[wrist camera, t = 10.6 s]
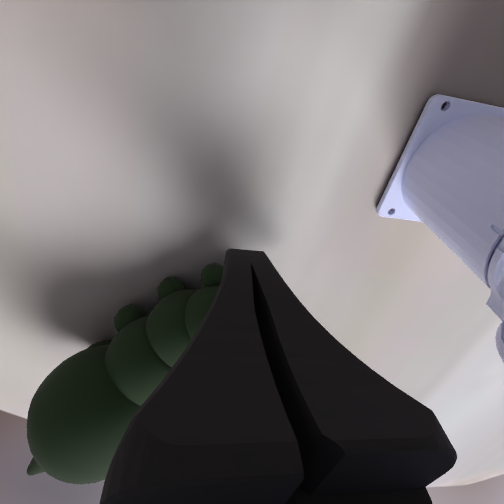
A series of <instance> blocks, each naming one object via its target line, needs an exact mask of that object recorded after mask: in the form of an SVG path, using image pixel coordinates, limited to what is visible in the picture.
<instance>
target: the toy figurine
mask: <svg viewBox="0 0 504 504" xmlns="http://www.w3.org/2000/svg"><path fill="white" fill-rule="evenodd" d="M223 268H224V267H223V266H222V265H220V264H218V263H212V264H208V265H206V267H205V268H204V269H203V270H202V273H201V280H200V281H201V282H202V284H203V285H204V286H205V287H203V288H201V289H199V290H196V289H187V290H184V286H183V284H182V283H181V282H180V280H179V279H177V278H166V279H165V280H164V281H162V282H161V284H160V285H159V286H158V288H157V291H158V297H159V299H160V301H159V302H158V303H157V305H156V306H155V307H154V308H153V310H152V311H151V312H150V314H149V316H147V314H146V312H145V311H144V310H143V309H142V308H140V307H139V306H137V305H133V304H130V305H127V306H125V307H122V308H121V309H120V310H119V312H118V313H117V314H116V316H115V317H114V324H115V328H116V330H117V332H118V333H117V334H116V335H115V337H114V338H113V339H112V341H111V342H106V341H102V342H97V343H95V344H92V345H91V346H89V347H88V348H87V349H85V350H83V351H80V352H78V353H77V354H75V355H73V356H71V357H69V358H68V359H66V360H65V361H63V362H62V363H61V364H60V365H59V366H57V367H56V368H55V369H54V370H53V371H52V372H51V373H50V374H49V375H48V376H47V377H46V378H45V380H44V381H43V382H42V384H41V385H40V386H39V388H38V390H37V391H36V393H35V395H34V397H33V399H32V401H31V404H30V408H29V411H28V419H27V439H28V443H29V447H30V451H31V453H32V455H33V458H32V460H31V462H30V464H29V466H28V468H27V474H28V475H35V474H39V473H42V472H46V473H47V474H49V475H50V476H52V477H54V478H56V479H58V480H60V481H63V482H66V483H72V484H89V483H95V482H99V481H102V480H105V478H106V475H107V472H108V469H109V466H110V463H111V461H112V458H113V456H114V454H115V452H116V449H117V447H118V445H119V443H120V441H121V439H122V437H123V435H124V433H125V431H126V430H127V428H128V426H129V424H130V422H131V420H132V418H133V417H134V414H135V413H136V411H137V410H138V409H139V408H140V407H141V405H142V404H143V403H144V402H145V401H146V400H147V398H148V397H149V396H150V395H151V394H152V392H153V391H154V390H155V389H156V388H157V386H158V385H159V384H160V383H161V382H162V380H163V379H164V378H165V376H166V375H167V374H168V372H169V371H170V370H171V368H172V367H173V366H174V364H175V363H176V361H177V360H178V359H179V357H180V356H181V355H182V353H183V352H184V350H185V349H186V347H187V346H188V344H189V343H190V341H191V339H192V338H193V336H194V335H195V333H196V331H197V330H198V328H199V326H200V325H201V323H202V321H203V319H204V317H205V316H206V314H207V312H208V310H209V308H210V306H211V304H212V301H213V299H214V297H215V295H216V292H217V290H218V288H219V285H220V282H221V279H222V274H223Z"/></svg>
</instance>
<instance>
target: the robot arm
mask: <svg viewBox="0 0 504 504" xmlns="http://www.w3.org/2000/svg"><path fill="white" fill-rule="evenodd" d="M444 102H446V106H445V107H444V108H443V109H442V110H441V106H442V104H443V103H444ZM392 208H393V210H392V211H390V212H388V211H389V210H390V209H392ZM376 211H377V213H378V214H379V215H380V216H382V217H389V218H397V219H405V220H412V221H420V222H423V223H424V224H425V225H426V226H427V227H428V228H429V229H430V230H431V231H432V232H433V233H434V234H435V235H436V236H437V237H438V238H439V239H440V240H441V241H442V242H443V243H444V244H445V245H447V246H448V247H449V248H450V249H451V250H452V251H453V252H454V253H455V254H456V255H457V256H458V257H459V258H460V259H461V260H462V261H463V262H464V263H465V264H466V265H467V266H468V267H469V268H470V269H471V270H472V271H473V272H474V273H475V274H476V275H477V276H478V277H479V278H480V279H481V280H482V281H483V282H484V283H485V284H486V285H487V286H488V287H489V288H490V289H491V295H490V298H489V299H488V301H487V303H486V304H487V305H488V306H489V307H490V308H491V310H492V311H493V312H494V313H495V314H496V315H497V316H498V317H499V318H500V319H501V320H502V321H503V322H502V323H501V324H500V326H499V327H498V329H497V332H496V337H495V338H496V346H497V349H498V352H499V355H500V357H501V358H502V360H503V362H504V108H503V107H498V106H493V105H488V104H484V103H479V102H474V101H469V100H465V99H460V98H455V97H450V96H446V95H441V94H436V95H433V96H432V97H431V98H429V100H428V101H427V103H426V106H425V108H424V110H423V112H422V114H421V116H420V118H419V120H418V122H417V124H416V127H415V129H414V131H413V133H412V135H411V137H410V139H409V141H408V143H407V145H406V148H405V150H404V152H403V154H402V156H401V158H400V160H399V162H398V164H397V166H396V169H395V171H394V173H393V175H392V177H391V179H390V181H389V183H388V185H387V187H386V190H385V192H384V194H383V196H382V198H381V200H380V202H379V204H378V206H377V209H376ZM456 459H457V454H456V451H455V449H454V448H453V446H452V444H451V442H450V441H449V439H448V437H447V435H446V434H445V432H444V430H443V428H442V426H441V425H440V423H439V421H438V419H437V418H436V416H435V415H434V413H433V411H432V410H430V409H429V408H427V407H426V406H424V405H423V404H421V403H420V402H418V401H417V400H415V399H414V398H412V397H411V396H409V395H407V394H406V393H404V392H403V391H401V390H400V389H398V388H397V387H395V386H394V385H392V384H391V383H390V382H388V381H387V380H386V379H384V378H383V377H382V376H380V375H379V374H377V373H376V372H375V371H373V370H372V369H371V368H369V367H368V366H367V365H366V364H364V363H363V362H362V361H361V360H359V359H358V358H357V357H356V356H355V355H353V354H352V353H351V352H350V351H349V350H348V349H346V348H345V347H344V346H343V345H342V344H341V343H339V342H338V341H337V340H336V339H335V338H334V337H333V336H332V335H331V334H330V333H329V332H328V331H327V330H326V329H325V328H324V327H323V326H322V325H321V324H320V323H319V322H318V321H317V320H316V319H315V318H314V317H313V316H312V315H311V314H310V313H309V312H308V310H307V309H306V308H305V307H304V306H303V305H302V303H301V302H300V301H299V300H298V299H297V297H296V296H295V295H294V293H293V292H292V291H291V290H290V288H289V287H288V286H287V284H286V283H285V282H284V280H283V279H282V277H281V276H280V275H279V273H278V272H277V270H276V269H275V267H274V266H273V264H272V263H271V261H270V260H269V258H268V257H267V255H266V254H265V253H264V252H263V251H252V250H240V249H228V250H227V251H226V255H225V262H224V268H223V274H222V279H221V282H220V285H219V288H218V290H217V292H216V295H215V297H214V299H213V301H212V304H211V306H210V308H209V310H208V312H207V314H206V316H205V317H204V319H203V321H202V323H201V325H200V326H199V328H198V330H197V331H196V333H195V335H194V336H193V338H192V339H191V341H190V343H189V344H188V346H187V347H186V349H185V350H184V352H183V353H182V355H181V356H180V357H179V359H178V360H177V361H176V363H175V364H174V366H173V367H172V368H171V370H170V371H169V372H168V374H167V375H166V376H165V378H164V379H163V380H162V382H161V383H160V384H159V385H158V386H157V388H156V389H155V390H154V391H153V392H152V394H151V395H150V396H149V397H148V398H147V400H146V401H145V402H144V403H143V404H142V405H141V407H140V408H139V409H138V410H137V411H136V413H135V414H134V417H133V418H132V420H131V422H130V424H129V426H128V428H127V430H126V431H125V433H124V435H123V437H122V439H121V441H120V443H119V445H118V447H117V449H116V452H115V454H114V456H113V458H112V461H111V463H110V466H109V469H108V472H107V475H106V478H105V482H104V487H103V491H102V495H101V500H100V504H432V501H431V498H430V496H429V494H428V492H427V490H426V486H427V485H429V484H430V483H432V482H433V481H435V480H436V479H437V478H439V477H440V476H442V475H443V474H445V473H446V472H447V471H449V470H450V469H451V468H452V467H453V466H454V464H455V462H456Z"/></svg>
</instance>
